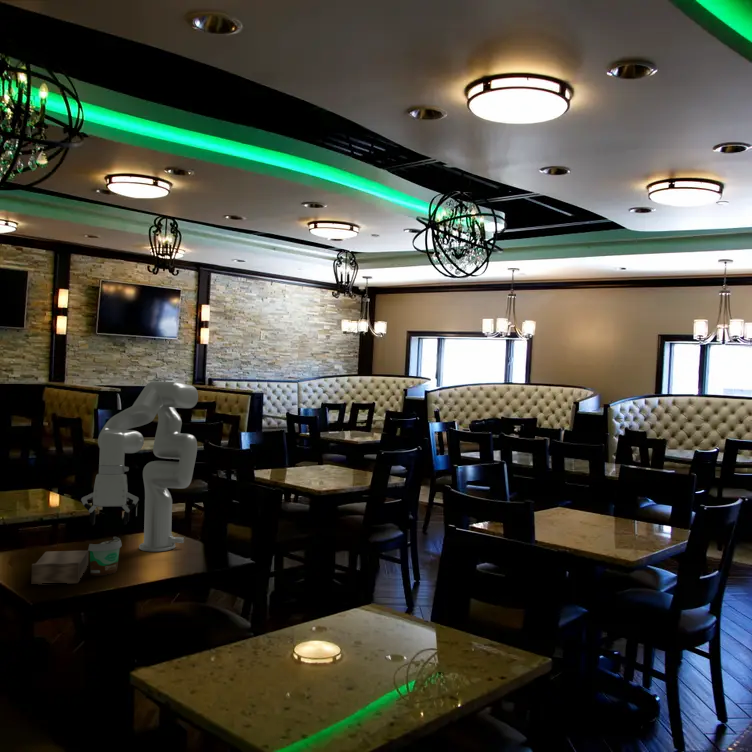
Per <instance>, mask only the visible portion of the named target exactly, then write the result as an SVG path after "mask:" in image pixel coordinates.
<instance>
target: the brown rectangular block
mask: <svg viewBox="0 0 752 752" xmlns="http://www.w3.org/2000/svg"><path fill="white" fill-rule="evenodd" d="M89 553H90V551H88V549H87V550H61V551H60V550H55V551H51V550H49V551H48V550H47V551H45V552H44V553H43V554H42V556H40V558H39V559H38V560H37V561H36V562H35V563H31V576H30V577H31V583H30V584H38V585H43V584H42V583H67V584H79V582H80V581H81V579H82V577H83V576H84V574H85V572H86V571H87V569H88V567H89ZM87 566H88V567H87ZM83 573H84V574H83ZM80 578H81V579H80Z"/></svg>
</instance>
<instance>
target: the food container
mask: <svg viewBox="0 0 752 752" xmlns="http://www.w3.org/2000/svg"><path fill="white" fill-rule="evenodd" d="M112 537H113V538H112V539H110V540H105V541H101V542H99V543H96V544H93V543H89V545H88V549H87V550H88V551H89V564H90V565H89V566H90V569H89V570H90V576H108V575H107V574H109V575H112V573H113V574H115V573H117V572H118V564H119V554H120V548H121V547H122V545H123V544H122V540H121V538H120V537H119V536H118V537H117V536H112ZM116 571H117V572H116Z"/></svg>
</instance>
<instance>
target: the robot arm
mask: <svg viewBox="0 0 752 752" xmlns="http://www.w3.org/2000/svg"><path fill="white" fill-rule="evenodd" d="M198 402H199V392H198V390H197V388H196V387H195V386H194V385H191V384H186V383H183V382H177V381H160V380H159V381H158V380H157V381H156V380H155V381H150V382H149V383H147V384H146V385H145V386H144V388H143V389H142V391H141V392H140V394H139V395H138V397H137V398H136V399H135V401H134V402H133V404H132V406H130V407H128V408H125V409H124V410H122V411H120V412H118V413H116V414H115V415H113V416H111V417H110V418H109V419H108V420H107V422H106V423H105V424H104V426H103V427H102V429H101V430H100V432H99V434H98V438H97V445H98V448H99V458H98V459H99V462H98V463H99V464H98V473H97V474H96V476H95V478H94V479H95V480H94V485H93V492H91V493H89V494H88V495H85V496H83V497H81V499H80V502H82V505H83V507H84V508H85V509H86V510H87V511H88V513H89V523H91V524H90V525H91V526H94V525H95V524H96V510H95V509H97V507H99V508H100V507H101V508H102V507H107V508H108V507H112V508H113V507H118V508H119V507H121V508H122V509H123V510H124V513H123V525H124V526H126V525H127V524H128V523H129V521H130V511H132V510H133V509H134V508H135V506H136V505H137V504H138V502H139V501H140V498H139V497H138V496H136V495H134V494H132V493H130V492H128V491H129V489H128V476H127V473H126V474H125V472H129V470H130V467H129V466H125V455H126V454H135V453H138V452H139V451H140V450H142V448H143V446H144V444H145V443H144V442H145V440H144V436H143V434H142V433H141V432H139V431H137V430H134V428H137V427H142V426H144V425H147V424H149V423H151V422H153V421H154V419H155V418H156V416H157V417H158V421H157V427H156V431H155V437H154V441H153V447H152V451H153V454H154V456H155V457H156V458H159V459H167V461H166V460H154V461H153V460H152V461H149V462H148V463H146V465H144V467H143V470H142V479H143V486H144V522H143V523H144V524H143V525H144V526H143V527H144V529H143V542H142V543H140V544H139V545H138V549H139V550H141V551H144V552H150V553H151V552H152V553H153V552H154V553H155V552H167V551H171V550H173V549H175V548H176V544H177V543H178V544H184V543H185V538H184V537H181V536H174V535H173V533H172V522H173V521H172V520H173V518H172V516H173V515H172V514H173V498H172V495H171V492H170V491H169V489H179V490H180V489H187V488H189V486H190V484H191V483H192V479H193V476H194V468H195V464H196V460H197V459H196V458H197V454H198V453H197V452H198V441H197V438H196V436H195V435H193V434H190V433H181V430H182V425H183V422H182V418H181V416H180V414H179V413H178V412H177V408H178V409H192V408H194V407H195V406H196V405H197V403H198ZM168 459H169V460H171V459H173V460H179V461H168ZM91 498H92V506H91V504H90V503H88V502H89V501H88V500H90V499H91ZM128 499H129V500H132V502H131V504H130V505H128V504H127V502H128Z"/></svg>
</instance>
